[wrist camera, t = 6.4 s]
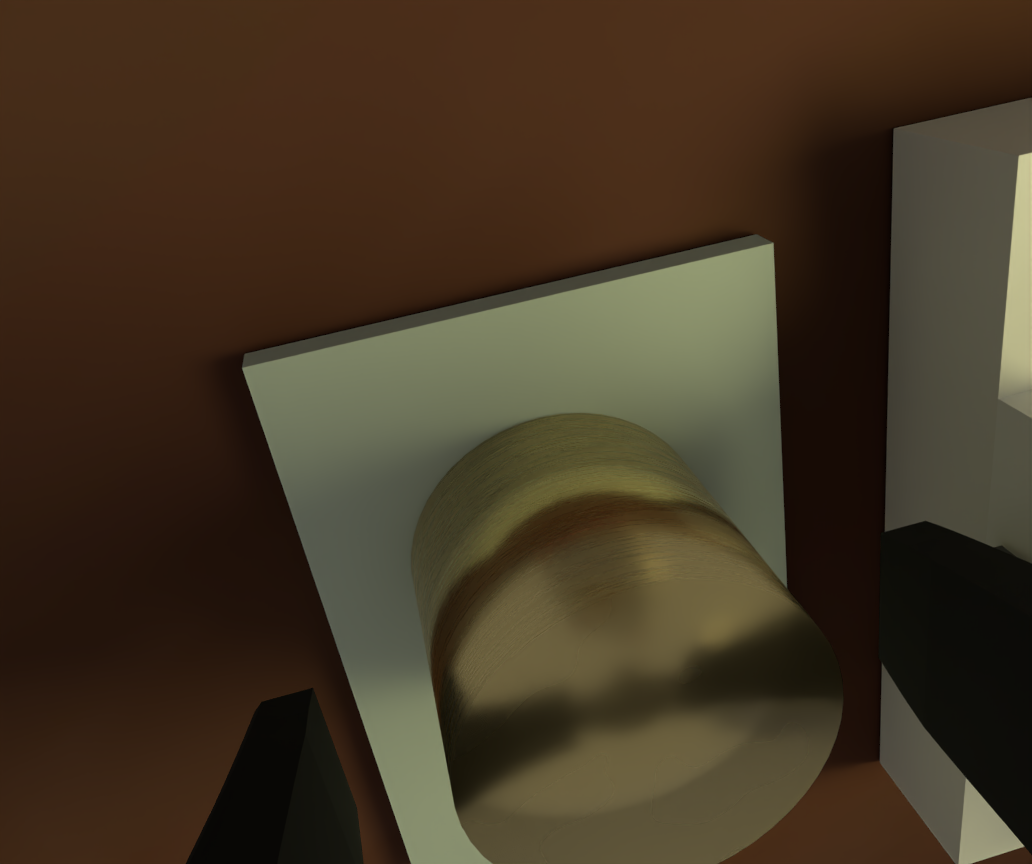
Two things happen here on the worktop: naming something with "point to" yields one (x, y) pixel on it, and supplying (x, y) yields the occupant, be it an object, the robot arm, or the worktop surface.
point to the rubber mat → (486, 412)
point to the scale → (958, 396)
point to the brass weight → (612, 654)
